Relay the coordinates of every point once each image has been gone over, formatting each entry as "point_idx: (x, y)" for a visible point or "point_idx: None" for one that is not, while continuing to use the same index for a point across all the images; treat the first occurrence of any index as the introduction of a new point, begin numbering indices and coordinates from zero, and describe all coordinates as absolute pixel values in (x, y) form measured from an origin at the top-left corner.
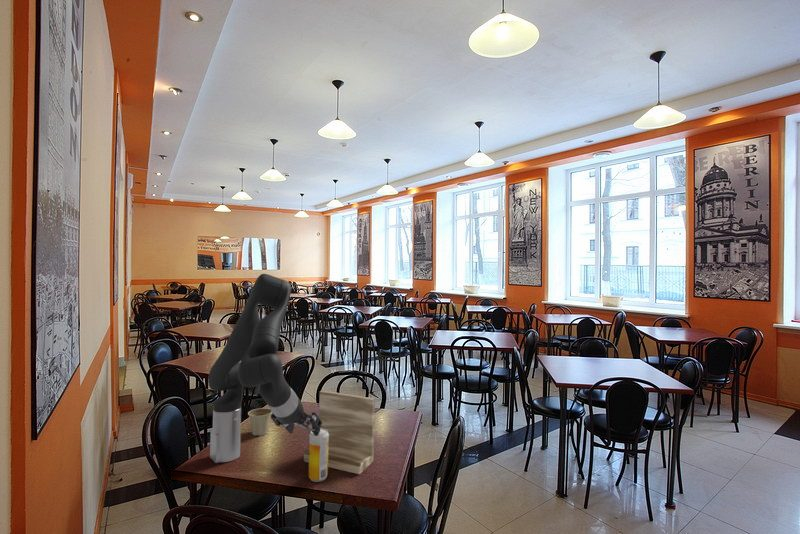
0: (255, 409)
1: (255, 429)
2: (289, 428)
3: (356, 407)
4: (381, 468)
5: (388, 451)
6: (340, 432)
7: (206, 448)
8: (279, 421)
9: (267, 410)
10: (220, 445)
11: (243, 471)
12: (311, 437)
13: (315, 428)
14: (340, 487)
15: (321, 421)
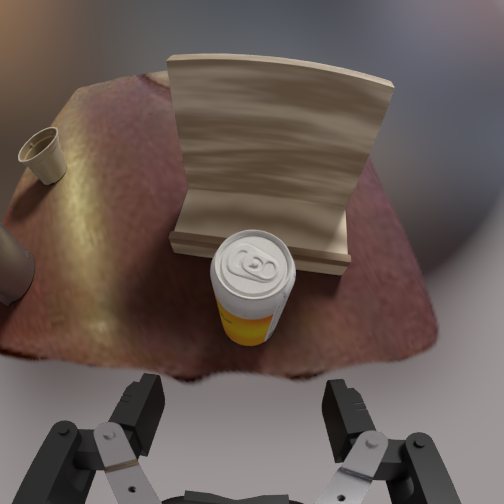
0: (30, 139)
1: (42, 177)
2: (151, 430)
3: (324, 102)
4: (371, 237)
5: None
6: (255, 164)
7: None
8: (80, 464)
9: (50, 131)
10: None
11: (58, 329)
12: (233, 305)
13: (390, 486)
14: (327, 347)
15: (435, 450)
